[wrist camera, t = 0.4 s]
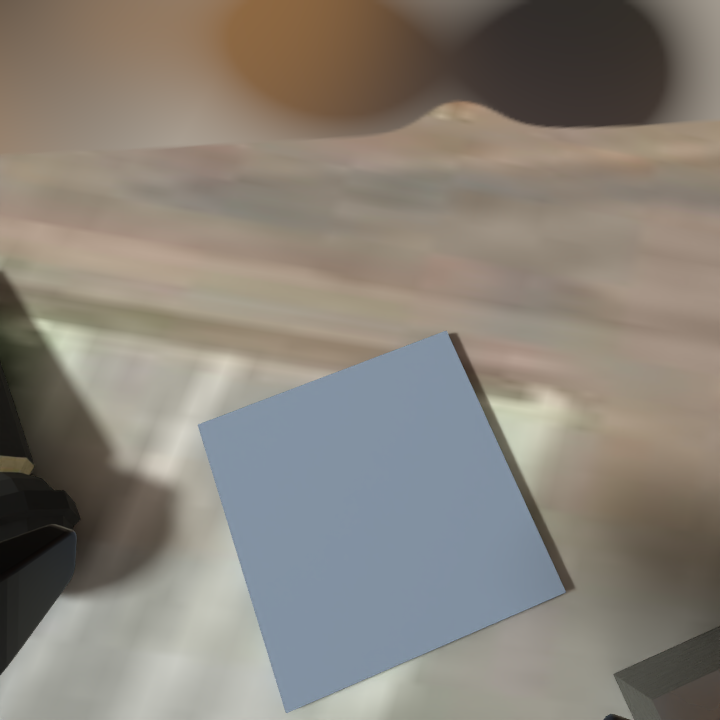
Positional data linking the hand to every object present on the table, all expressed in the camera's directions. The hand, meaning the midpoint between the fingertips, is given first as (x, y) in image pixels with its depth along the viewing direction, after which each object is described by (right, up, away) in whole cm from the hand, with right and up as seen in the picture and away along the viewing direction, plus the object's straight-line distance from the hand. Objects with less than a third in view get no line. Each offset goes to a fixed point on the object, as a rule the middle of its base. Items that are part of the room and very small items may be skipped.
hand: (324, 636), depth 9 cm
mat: (+1, -2, +15) cm, 15 cm away
